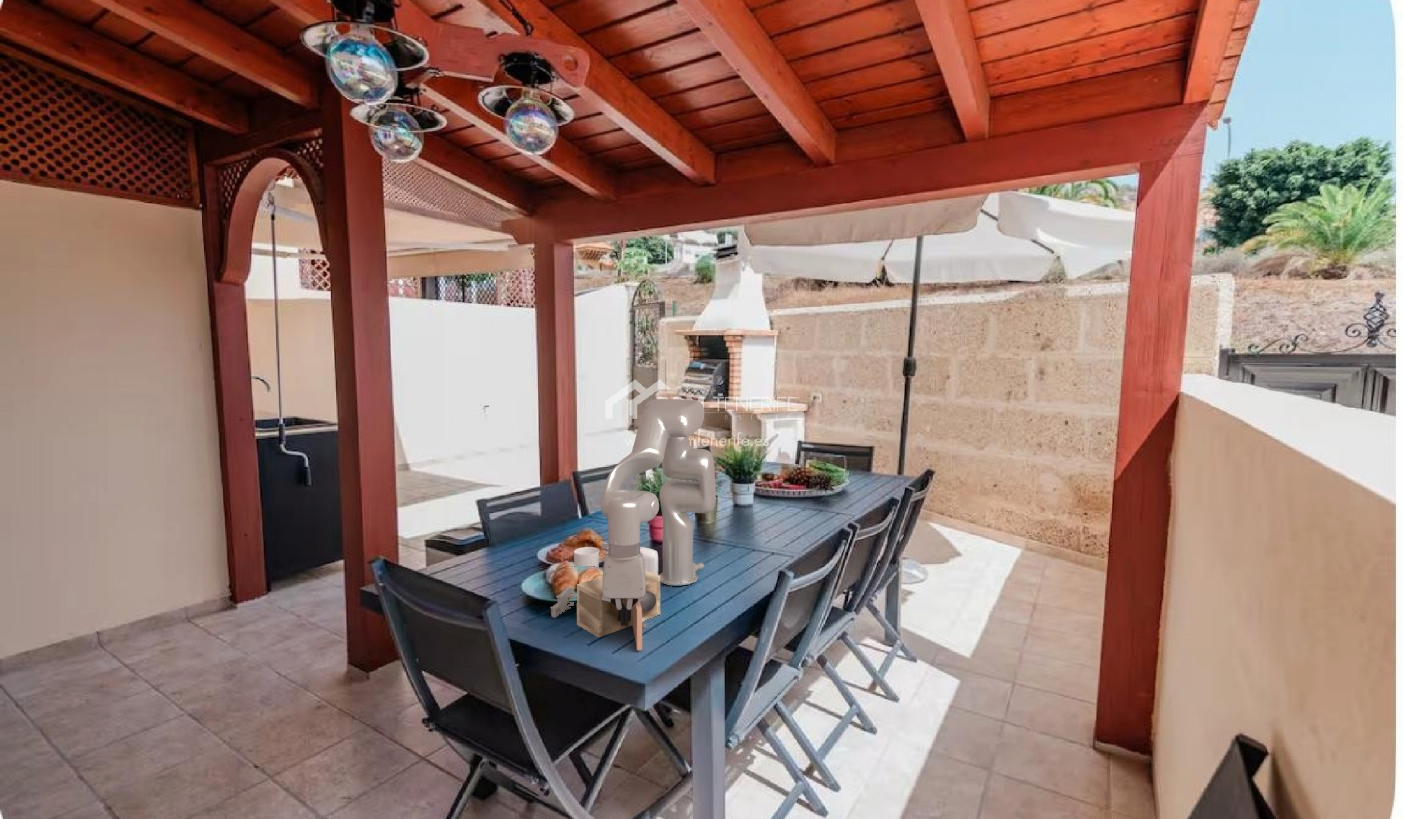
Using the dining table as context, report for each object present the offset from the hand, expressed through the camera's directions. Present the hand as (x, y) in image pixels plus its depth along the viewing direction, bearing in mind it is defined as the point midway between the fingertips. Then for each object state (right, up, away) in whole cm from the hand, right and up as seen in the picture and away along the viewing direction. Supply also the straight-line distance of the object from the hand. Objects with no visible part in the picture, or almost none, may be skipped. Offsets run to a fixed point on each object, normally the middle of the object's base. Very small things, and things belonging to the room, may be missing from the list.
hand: (624, 623), depth 151 cm
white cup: (-17, -3, +45) cm, 48 cm away
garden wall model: (-19, -4, +24) cm, 31 cm away
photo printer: (0, -3, +41) cm, 41 cm away
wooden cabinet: (-3, -5, +17) cm, 18 cm away
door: (+3, -5, +6) cm, 8 cm away
